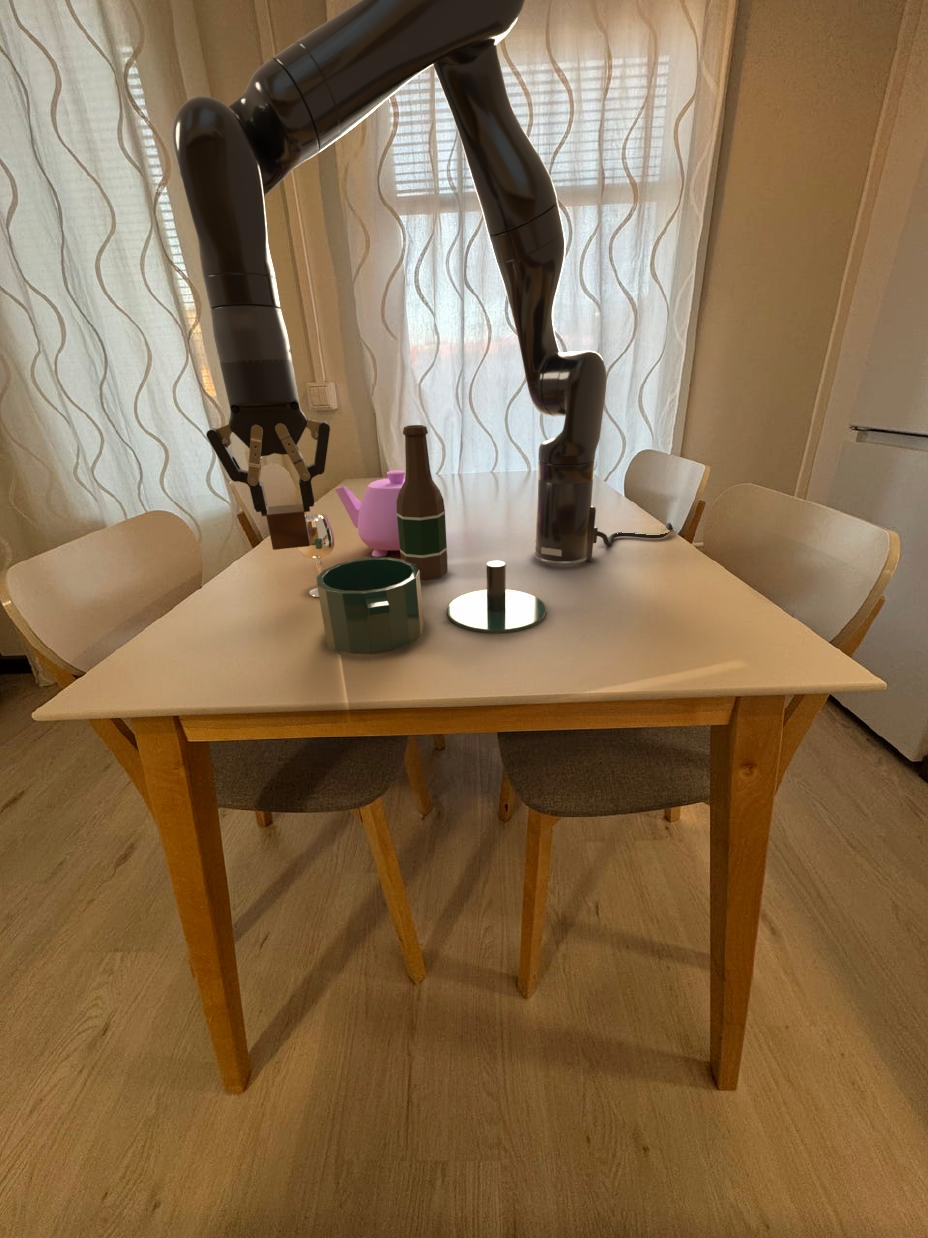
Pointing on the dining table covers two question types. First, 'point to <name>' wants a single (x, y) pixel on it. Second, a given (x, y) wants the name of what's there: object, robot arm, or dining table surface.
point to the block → (288, 526)
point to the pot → (371, 605)
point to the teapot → (376, 512)
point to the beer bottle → (421, 510)
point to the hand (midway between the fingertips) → (286, 511)
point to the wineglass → (318, 542)
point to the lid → (496, 606)
